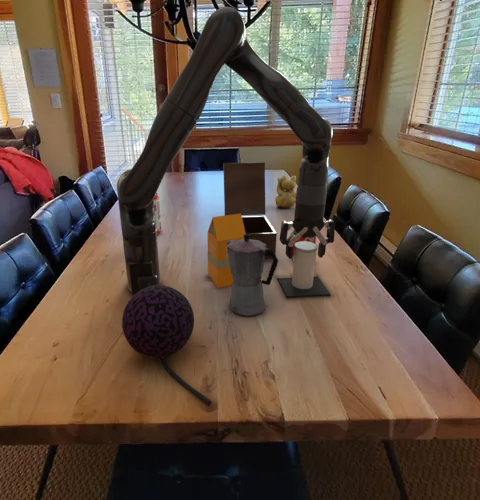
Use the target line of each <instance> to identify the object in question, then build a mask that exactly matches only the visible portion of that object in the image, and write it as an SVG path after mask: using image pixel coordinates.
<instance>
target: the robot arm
mask: <svg viewBox="0 0 480 500" xmlns="http://www.w3.org/2000/svg"><path fill="white" fill-rule="evenodd" d="M224 65H225V66H226V67H228V68H229V69H231V70H232V71H233V72H234V73H235V74H237V75H238V76H240V78H241V79H243V81H245V82H246V83H247V84H248V85H249V86H250V87H251V88H252V89H253V90H254V91H255V92H256V94H258V96H259V97H260V98H261V99H262V100H263V101H264V102H265V104H267V106H269V107H270V108H271V110H272V111H273V112H274V113H275V114H276V115H277V116H278V117H279V118H280V119H281V120H282V121H283V122H284V123H286V124H287V126H288V127H289V129H290V130H291V131H292V132H293V134H294V135H295V136H296V138H297V139H298V140H299V141H300V142H301V143H302V148H301V149H302V151H301V161H300V164H299V170H298V178H297V179H298V181H297V187H296V191H295V192H296V196H295V199H296V202H295V205H294V216H293V220H292V221H286V220H282V221H281V226H280V233H279V239H278V240H279V242H280V243H281V245H283V246H284V245H285V255H286V257H287V258H288V259H289V260H292V252H293V246H292V245H293V244H294V243H295V242H296V241H298V240H299V239H300V237H302V238H307V237H310V238H314V237H315V236H316V239H318V240H319V242H318V244H317V256H318V258H320V259H321V258H323V257H324V256H325V255H326V249H327V245H328V244H332V243H334V242H335V233H336V222H335V221H334V220H333V219H331V218H328V219H327V220H324V219H325V211H326V202H327V193H328V189H327V187H328V178H329V177H328V176H329V156H330V150H331V144H332V139H333V136H334V135H333V130H334V129H333V126H332V123H331V122H330V121H329V120H328V119H326V118H324V117H322V116H321V115H320V114H319V112H317V111H316V109H314V108H313V107H312V106H311V105H310V103H309V100H308V99H307V98H306V97H305V96H304V94H302V92H301V91H300V90H299V89H298V88H297V87H296V86H295V85H294V84H293V83H292V81H290V80H289V79H288V78H287V77H286V76H284V75H283V74H282V73H281V72H280V71H278V70H276V69H275V68H274V67H272V66H271V65H270V64H268V63H267V62H266V61H265V60H264V59H262V57H261V56H259V54H258V53H257V52H256V51H255V49H254V48H253V47H252V46H251V44H250V43H249V41H248V40H247V38H246V26H245V22H244V19H243V16H242V15H241V13H240V11H238V10H237V9H236V8H234V7H231V6H223V7H220V8H218V9H216V10H215V11H213V12H212V13H211V14H210V15H209V17H208V18H207V20H206V22H205V24H204V26H203V28H202V30H201V32H200V35H199V38H198V40H197V42H196V44H195V47H194V48H193V51H192V53H191V56H190V58H189V59H188V61H187V63H186V64H185V66H184V68H183V69H182V71H181V72H180V74H179V75H178V77H177V78H176V80H175V82H174V84H173V86H172V87H171V89H170V91H169V93H168V94H167V95H166V97H165V99H164V100H163V102H162V104H161V106H160V107H159V109H158V111H157V113H156V115H155V117H154V120H153V122H152V125H151V127H150V130H149V132H148V136H147V139H146V141H145V144H144V147H143V149H142V151H141V154H140V155H139V157H138V158H137V160H136V161H135V163H134V164H133V166H132V168H130V169H127V170H125V171H123V172H122V173H121V174H120V175H119V177H118V179H117V182H116V193H117V202H118V209H119V217H120V218H119V219H120V227H121V235H122V236H121V237H122V244H123V245H122V246H123V253H124V254H123V255H124V262H125V271H126V272H125V273H126V279H127V281H126V282H127V289H128V292H131V295H135V294H136V293H137V292H139V291H140V290H142V289H144V288H146V287H149V286H154V285H162V282H161V281H162V280H161V274H160V273H161V272H160V261H159V260H160V259H159V248H158V247H159V246H158V235H157V231H156V219H155V213H154V204H153V199H154V197H155V195H156V193H158V190H159V189H160V188H159V187H160V186H161V183H162V181H163V180H164V177H165V175H166V173H167V170H169V167H170V166H171V164H172V162H173V161H174V159H175V158H176V157H177V156H178V153H179V152H180V150H181V149H182V148H183V146H184V145H185V142H187V139H188V138H189V137H190V135H191V133H192V132H193V130H194V129H195V127H196V125H197V123H198V121H199V120H200V118H201V116H202V113H203V111H204V109H205V107H206V105H207V102H208V99H209V96H210V93H211V91H212V88H213V85H214V83H215V81H216V79H217V76H218V75H219V73H220V71H221V70H222V68H223V67H224ZM324 227H325V229H326V236H325V237H324V236H323V234H322V233H321V231H322V229H323V228H324ZM291 228H293V230H292V231H291V233H290V235H289V236H288V232H289V231H290V230H291ZM158 360H159V362H160V364H161V365H162V367H163V369H164V370H166V372H167V373H168V374H169V375H170V376H172V378H173V379H174V380H176V381H177V382H178V383H179V384H180V385H181V386H182V387H183V388H185V389H186V390H187V391H189V392H190V393H191V394H192V395H194V396H195V397H197V398H198V399H200V400H201V401H203V403H205V404H206V405H208V406H210V405H211V403H212V400H210V399H209V398H208V397H207V396H205V395H204V394H203V393H201V392H200V391H198V390H197V389H196V388H194V387H192V386H191V385H190V384H188V383H187V382H186V381H185V380H184V379H183V378H182V377H181V376H180V375H178V374H177V373H176V372H175V371H174V370H173V369H172V368H171V367H170V366H169V365H168V364H167V362H166V361H165V359H164V357H163V358H158Z"/></svg>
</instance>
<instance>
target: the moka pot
mask: <svg viewBox="0 0 480 500" xmlns="http://www.w3.org/2000/svg"><path fill="white" fill-rule="evenodd" d="M243 236H244V239H241V240H231V241H228V242H226V243H227V245H228V246H227V251H228V257H229V263H230V270H231V274H232V275H233V284H232V285H231V293H230V294H231V295H230V303H229V307H230V310H231V311H232V312H233V313H234V314H237V315H240V316H245V317H247V316H248V317H249V316H256V315H259V314H261V313H263V312H264V310H265V308H266V302H265V296H264V289H263V285H265V286H269V285H271V282H272V280H273V277H274V274H275V272H276V270H277V267H278V263H279V259H278V258H277V255H276V253H275V254H274V253H273V251H272V249H268V248H266V244H264V243H262V242H261V241H259V240H251V239H249V238H250V235H248V234H245V235H243ZM265 256H270V257H272V258H273V259H272V262H271V265H270V269H269V272H268V276H267V277H266V280H265V279H262V274H263V273H264V266H265V261H266V259H265Z"/></svg>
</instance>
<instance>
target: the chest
mask: <svg viewBox="0 0 480 500" xmlns="http://www.w3.org/2000/svg"><path fill="white" fill-rule="evenodd" d="M242 220H243V224H244V229H245V233H246V234H248V235H250V238H249V239H251V240H259V241H261V242H262V243H264V244H266V248H268V249H272V251H273V253H274V254H275V255H276V251H277V249H276V248H277V236H278V235H277V234H278V233H277V231H276V230H275V228H274V226H273V225H272V224H271V222H270V221H269V219H268V217H266V215H246V216H242ZM265 260H273V258H272V257H270V256H265Z"/></svg>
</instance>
